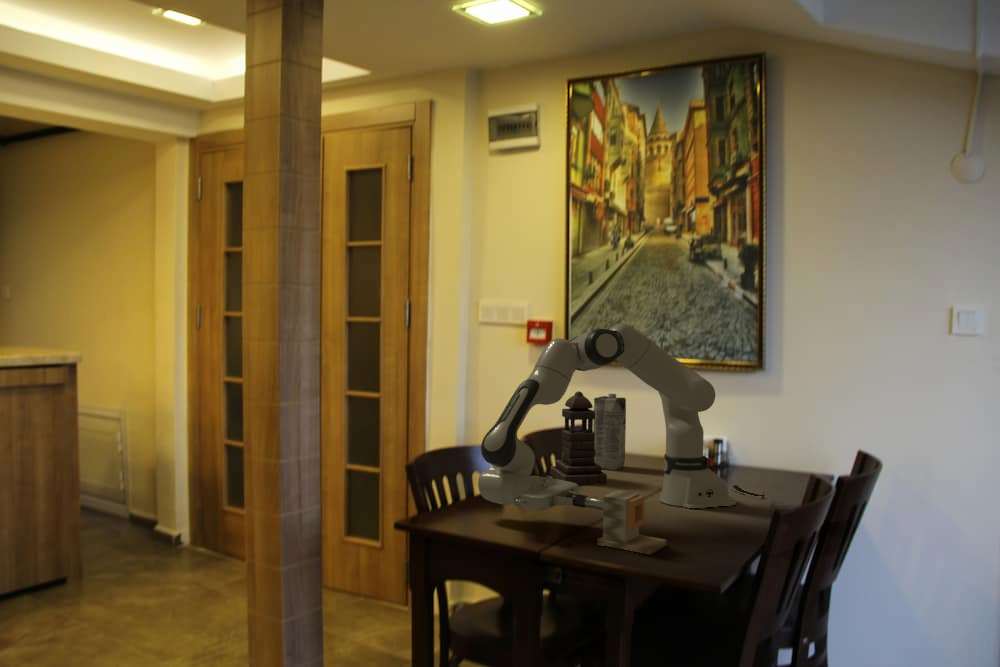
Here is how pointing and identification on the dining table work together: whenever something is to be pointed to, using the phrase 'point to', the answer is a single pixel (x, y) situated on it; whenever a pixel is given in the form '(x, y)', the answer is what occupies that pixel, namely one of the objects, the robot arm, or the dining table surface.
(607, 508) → the bearing frame
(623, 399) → the battery
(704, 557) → the dining table surface
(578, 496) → the shaft
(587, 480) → the miniature tower
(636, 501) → the orange upright panel
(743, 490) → the curved wedge
